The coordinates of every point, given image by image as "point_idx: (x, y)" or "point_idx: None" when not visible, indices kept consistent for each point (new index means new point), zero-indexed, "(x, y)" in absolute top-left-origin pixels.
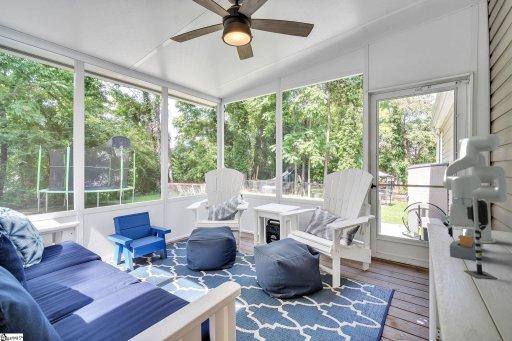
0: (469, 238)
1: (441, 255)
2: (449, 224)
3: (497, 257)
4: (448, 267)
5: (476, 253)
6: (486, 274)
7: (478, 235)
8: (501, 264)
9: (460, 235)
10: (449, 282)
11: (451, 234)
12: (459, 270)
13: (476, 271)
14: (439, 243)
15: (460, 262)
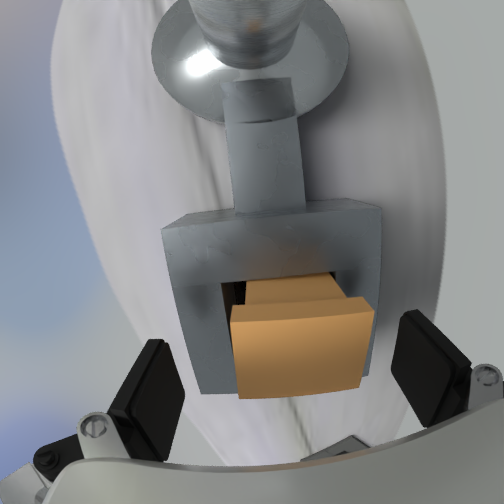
0: (337, 384)
1: (175, 358)
2: (84, 454)
3: (414, 178)
4: (256, 459)
5: None
6: (354, 451)
7: None
8: (421, 312)
9: (245, 355)
10: None
11: (177, 414)
12: (288, 461)
13: (332, 450)
14: (79, 69)
15: (276, 405)
